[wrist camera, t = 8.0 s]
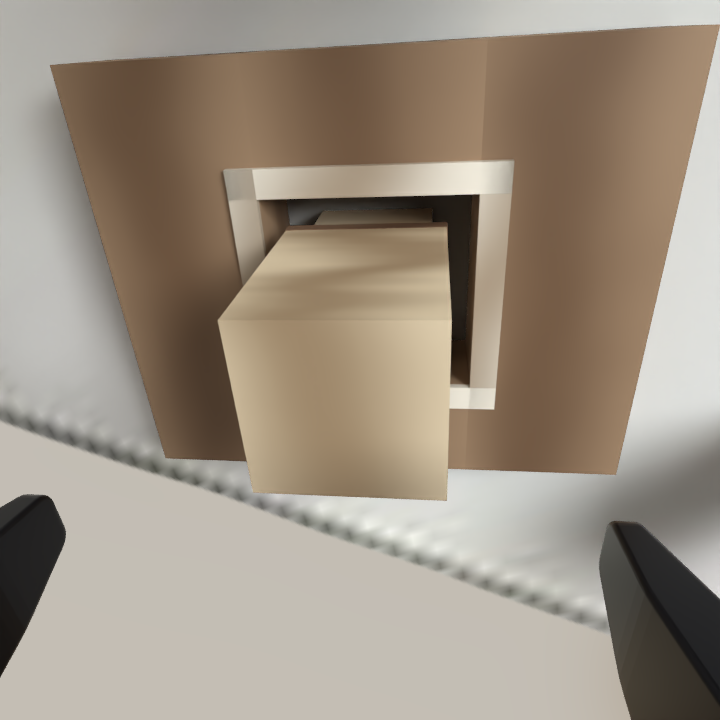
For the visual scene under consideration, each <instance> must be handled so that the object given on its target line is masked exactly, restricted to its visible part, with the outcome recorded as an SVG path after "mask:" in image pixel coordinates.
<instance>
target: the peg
mask: <svg viewBox="0 0 720 720" xmlns="http://www.w3.org/2000/svg"><path fill="white" fill-rule="evenodd" d="M447 236H448V223H447V222H432V208H416V209H378V210H340V211H323V212H322V213H321V215H320V216H319V218H318V219H317V221H316V223H315V224H314V225H296V226H288V227H287V228H286V229H285V232H284V234H283V235H282V236H281V238H280V239H279V240H278V242H277V243H276V244H275V246H274V247H273V248H272V250H271V251H270V252H269V254H268V255H267V256H266V257H265V259H264V260H263V261H262V263H261V264H260V265H259V267H258V268H257V269H256V271H255V272H254V273H253V275H252V276H251V277H250V279H249V280H248V281H247V282H246V284H245V285H244V286H243V288H242V289H241V290H240V292H239V293H238V294H237V296H236V297H235V298H234V300H233V301H232V302H231V304H230V305H229V306H228V307H227V309H226V310H225V311H224V313H223V314H222V315H221V317H220V318H219V319H218V325H219V330H220V334H221V339H222V344H223V349H224V354H225V359H226V363H227V368H228V373H229V378H230V383H231V388H232V392H233V397H234V402H235V407H236V412H237V417H238V421H239V426H240V431H241V436H242V441H243V446H244V450H245V455H246V460H247V465H248V470H249V475H250V479H251V484H252V489H253V493H276V494H299V495H323V496H347V497H371V498H394V499H418V500H442V501H447V478H448V441H449V405H450V368H451V332H452V315H451V296H450V276H449V257H448V238H447Z"/></svg>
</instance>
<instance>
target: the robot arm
mask: <svg viewBox="0 0 720 720" xmlns="http://www.w3.org/2000/svg"><path fill="white" fill-rule="evenodd" d="M65 538H66V531H65V527H64V525H63V523H62V520H61V518H60V516H59V514H58V511H57V509H56V507H55V505H54V502H53V501H52V499H51V498H50V497H48V496H46V495H32V494H31V495H30V494H27V495H22V496H20V497H18V498H16V499H14V500H13V501H11V502H9V503H7V504H5V505H4V506H2V507H1V508H0V677H1V675H2V673H3V671H4V669H5V668H6V666H7V664H8V662H9V660H10V659H11V657H12V655H13V653H14V652H15V650H16V648H17V646H18V644H19V642H20V640H21V638H22V636H23V635H24V633H25V631H26V629H27V627H28V625H29V622H30V620H31V618H32V616H33V614H34V612H35V609H36V607H37V605H38V602H39V600H40V598H41V596H42V593H43V591H44V589H45V586H46V584H47V582H48V580H49V577H50V575H51V573H52V571H53V568H54V566H55V564H56V561H57V559H58V557H59V555H60V552H61V550H62V548H63V545H64V542H65ZM599 570H600V578H601V583H602V589H603V594H604V600H605V605H606V610H607V616H608V621H609V627H610V632H611V638H612V643H613V648H614V654H615V659H616V664H617V669H618V674H619V679H620V682H621V686H622V690H623V693H624V697H625V700H626V704H627V707H628V710H629V714H630V717H631V720H720V599H719V598H718V597H717V596H716V595H715V594H714V593H713V592H712V591H711V590H710V589H709V588H708V587H707V586H706V585H705V584H704V583H703V582H702V581H700V580H699V579H698V578H697V577H696V576H695V575H694V574H693V573H692V572H691V571H690V570H689V569H688V568H687V567H686V566H685V565H684V564H683V563H682V562H681V561H679V560H678V559H677V558H676V557H675V556H674V555H673V554H672V553H671V552H670V551H669V550H668V549H667V548H666V547H665V546H664V545H663V544H662V543H661V542H660V541H658V540H657V539H656V538H655V537H654V536H653V535H652V534H651V533H650V532H649V531H648V530H647V529H646V528H645V527H644V526H643V525H641V524H639V523H637V522H623V521H613V522H610V523H609V525H608V526H607V529H606V533H605V538H604V542H603V546H602V550H601V555H600V560H599Z"/></svg>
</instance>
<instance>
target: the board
mask: <svg viewBox="0 0 720 720" xmlns="http://www.w3.org/2000/svg"><path fill="white" fill-rule="evenodd" d="M719 27H720V25H689V26H663V27H647V28H630V29H614V30H598V31H581V32H565V33H548V34H532V35H515V36H499V37H482V38H466V39H449V40H433V41H417V42H400V43H384V44H367V45H351V46H334V47H318V48H301V49H285V50H269V51H252V52H236V53H219V54H203V55H186V56H170V57H153V58H137V59H120V60H105V61H93V62H81V63H69V64H57V65H50V67H51V71H52V74H53V78H54V81H55V84H56V88H57V91H58V95H59V98H60V101H61V105H62V108H63V111H64V115H65V118H66V122H67V125H68V128H69V132H70V135H71V139H72V142H73V145H74V149H75V152H76V156H77V159H78V162H79V166H80V169H81V173H82V176H83V179H84V183H85V186H86V189H87V193H88V196H89V200H90V203H91V206H92V210H93V213H94V217H95V220H96V223H97V227H98V230H99V234H100V237H101V240H102V244H103V247H104V251H105V254H106V257H107V261H108V264H109V267H110V271H111V274H112V278H113V281H114V284H115V288H116V291H117V295H118V298H119V301H120V305H121V308H122V312H123V315H124V318H125V322H126V325H127V329H128V332H129V335H130V339H131V342H132V345H133V349H134V352H135V356H136V359H137V362H138V366H139V369H140V373H141V376H142V379H143V383H144V386H145V390H146V393H147V396H148V400H149V403H150V406H151V410H152V413H153V417H154V420H155V423H156V427H157V430H158V434H159V437H160V440H161V444H162V447H163V451H164V454H165V457H166V458H173V459H200V460H227V461H247V460H246V455H245V450H244V446H243V441H242V436H241V431H240V426H239V421H238V417H237V412H236V407H235V402H234V397H233V392H232V388H231V383H230V378H229V373H228V368H227V363H226V359H225V354H224V349H223V344H222V339H221V334H220V330H219V325H218V319H219V318H220V317H221V315H222V314H223V313H224V311H225V310H226V309H227V307H228V306H229V305H230V304H231V302H232V301H233V300H234V298H235V297H236V296H237V294H238V293H239V292H240V290H241V289H242V288H243V286H244V285H245V284H246V282H247V281H248V280H249V279H250V277H251V276H252V275H253V273H254V272H255V271H256V269H257V268H258V267H259V265H260V264H261V263H262V261H263V260H264V259H265V257H266V256H267V255H268V254H269V252H270V251H271V250H272V248H273V247H274V246H275V244H276V243H277V242H278V240H279V239H280V238H281V236H282V235H283V234H284V232H285V229H286V228H287V227H288V226H290V222H289V214H288V206H287V199H310V198H349V197H389V196H428V195H467V194H472V202H471V224H470V245H469V267H468V289H467V311H466V332H465V340H451V368H450V405H449V441H448V469H473V470H500V471H528V472H555V473H582V474H610V475H616V472H617V468H618V463H619V459H620V455H621V450H622V446H623V442H624V437H625V433H626V429H627V424H628V420H629V416H630V411H631V407H632V403H633V398H634V394H635V390H636V385H637V381H638V377H639V373H640V368H641V364H642V360H643V355H644V351H645V347H646V342H647V338H648V334H649V329H650V325H651V321H652V316H653V312H654V308H655V303H656V299H657V295H658V290H659V286H660V282H661V278H662V273H663V269H664V265H665V260H666V256H667V252H668V247H669V243H670V239H671V234H672V230H673V226H674V221H675V217H676V213H677V208H678V204H679V200H680V195H681V191H682V187H683V183H684V178H685V174H686V170H687V165H688V161H689V157H690V152H691V148H692V144H693V139H694V135H695V131H696V126H697V122H698V118H699V113H700V109H701V105H702V100H703V96H704V92H705V88H706V83H707V79H708V75H709V70H710V66H711V62H712V57H713V53H714V49H715V44H716V40H717V36H718V31H719Z"/></svg>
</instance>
